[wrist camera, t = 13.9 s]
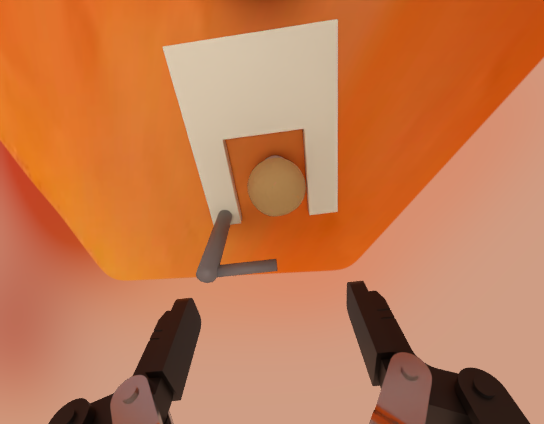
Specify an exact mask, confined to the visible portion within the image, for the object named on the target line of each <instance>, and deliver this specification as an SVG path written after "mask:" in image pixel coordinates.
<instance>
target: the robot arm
mask: <svg viewBox="0 0 544 424" xmlns="http://www.w3.org/2000/svg"><path fill="white" fill-rule="evenodd" d="M347 310H348V314H349V318H350V320H351V323H352V326H353V329H354V332H355V335H356V338H357V341H358V344H359V347H360V350H361V353H362V356H363V359H364V362H365V365H366V368H367V371H368V374H369V377H370V379H371V382H372V385H373V386H379V385H380V386H381V392H380V395H379V399H378V402H377V405H376V408H375V410H374V412H373V414H372V417H371V420H370V423H369V424H530V423H529V421H528V420H527V418H526V417H525V416H524V414H523V413H522V411H521V410H520V409H519V407H518V406H517V404H516V403H515V402H514V400H513V399H512V397H511V396H510V395H509V393H508V392H507V390H506V389H505V387H504V386H503V385H502V384H501V383H500V382H499V381H498V380H497V379H496V378H495V377H493V376H492V375H490V374H489V373H487V372H485V371H483V370H480V369H477V368H465V369H463V370H461V371H460V373H459V374H457V373H453V372H449V371H445V370H441V369H437V368H434V367H431V366H429V365H427V364H426V363H424V362H423V361H422V360H421V359H420V358H418V357H417V356H416V355H415V354H414V353H413V351H412V349H411V348H410V346H409V344H408V342H407V340H406V338H405V336H404V334H403V332H402V331H401V329H400V327H399V325H398V323H397V321H396V319H395V318H394V315H393V314H392V312H391V310H390V308H389V306H388V304H387V302H386V300H385V299H384V298H383V297H382V296H381V295H380V294H379V293H378V292H377V291H368V290H367V288H366V286H365V284H364V282H363V281H356V282H348V283H347ZM200 329H201V318H200V315H199V313H198V310H197V308H196V305H195V303H194V300H193V299H192V298H185V299H177V300H176V301H175V303H174V305H173V307H172V310H171V311H166V312H165V313H164V315H163V316H162V317H161V318H160V319H159V320H158V323H157V325H156V327H155V329H154V332H153V333H152V335H151V338H150V341H149V342H148V344H147V346H146V348H145V351H144V353H143V355H142V357H141V359H140V361H139V364H138V366H137V368H136V370H135V372H134V374H133V376H132V377H130V378H129V379H127V380H126V381H124V382H123V383H122V384H121V385H120V386H119V387H118V388H117V390H116V391H115V393H113V394H111V395H109V396H107V397H104V398H102V399H100V400H97V401H95V402H93V403H89V402H88V401H87V400H86V399H83V398H79V399H75V400H73V401H71V402H69V403H67V404H66V405H65V406H63V407H62V408H61V409H60V410H59V411H58V412H57V413H56V414H55V415H54V417H53V418H52V419H51V421H50V422H49V424H174V423H173V421H172V417H171V414H170V412H169V408H170V405H171V402H172V401H177V400H181V397H182V394H183V390H184V387H185V383H186V379H187V376H188V372H189V368H190V365H191V361H192V358H193V354H194V351H195V347H196V343H197V340H198V336H199V332H200Z"/></svg>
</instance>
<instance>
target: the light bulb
mask: <svg viewBox="0 0 544 424" xmlns="http://www.w3.org/2000/svg"><path fill="white" fill-rule="evenodd" d="M305 189H306V185H305V179H304V176H303V174H302V172H301V170H300V169H299V168H298V167H297V166H296V165H295V164H294V163H293V162H291V161H289V160H287V159H284V158H283V157H281V156H277V155H273V156H270V157H268V158H266V159H265V160H264V161H262V162H261V163H259V164H258V165H257V166H256V167H255V168H254V169H253V170H252V172H251V174H250V176H249V179H248V194H249V197H250V199H251V201H252V203H253V204H254V206H255V207H256V208H257V209H258V210H259V211H261V212H262V213H264V214H266V215H268V216H282V215H285V214H288V213H290V212H292V211H293V210H295V209H296V208H297V207H298V206H299V205H300V204H301V202H302V201H303V199H304V195H305Z"/></svg>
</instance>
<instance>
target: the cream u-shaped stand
mask: <svg viewBox="0 0 544 424" xmlns="http://www.w3.org/2000/svg"><path fill="white" fill-rule="evenodd" d="M163 51H164V54H165V58H166V61H167V64H168V68H169V71H170V75H171V78H172V82H173V85H174V89H175V92H176V96H177V99H178V103H179V106H180V110H181V113H182V117H183V120H184V124H185V127H186V130H187V134H188V137H189V141H190V144H191V148H192V151H193V155H194V158H195V162H196V165H197V169H198V172H199V176H200V179H201V183H202V186H203V189H204V193H205V196H206V200H207V203H208V207H209V210H210V214H211V217H212V221H213V224H214V227H213V230H212V232H211V235H210V238H209V240H208V243H207V246H206V248H205V251H204V254H203V256H202V259H201V262H200V264H199V267H198V270H197V272H196V276H197V278H198V279H199V280H200V281H202V282H205V283H209V282H213V281H214V280H215V279H216V277H224V276H234V275H243V274H252V273H262V272H271V271H277V262H276V259H271V260H262V261H253V262H243V263H234V264H225V265H220V262H221V258H222V254H223V250H224V247H225V243H226V239H227V235H228V231H229V228H230V224H239V223H241V221H242V215H241V210H240V206H239V201H238V197H237V192H236V188H235V183H234V178H233V174H232V169H231V165H230V160H229V155H228V151H227V146H226V142H225V139H232V138H239V137H246V136H254V135H261V134H268V133H276V132H283V131H290V130H298V129H303V141H304V156H305V171H306V187H307V202H308V211H309V215H315V214H323V213H331V212H338V19H335V20H328V21H322V22H316V23H310V24H303V25H297V26H291V27H284V28H278V29H272V30H265V31H259V32H253V33H246V34H240V35H234V36H227V37H221V38H215V39H208V40H202V41H196V42H189V43H183V44H177V45H170V46H164V47H163Z"/></svg>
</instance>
